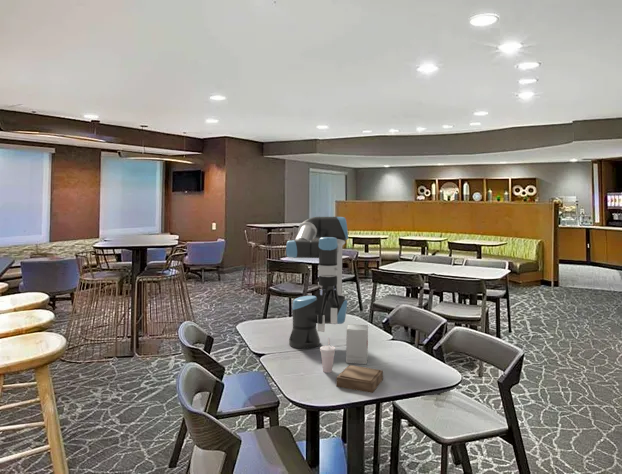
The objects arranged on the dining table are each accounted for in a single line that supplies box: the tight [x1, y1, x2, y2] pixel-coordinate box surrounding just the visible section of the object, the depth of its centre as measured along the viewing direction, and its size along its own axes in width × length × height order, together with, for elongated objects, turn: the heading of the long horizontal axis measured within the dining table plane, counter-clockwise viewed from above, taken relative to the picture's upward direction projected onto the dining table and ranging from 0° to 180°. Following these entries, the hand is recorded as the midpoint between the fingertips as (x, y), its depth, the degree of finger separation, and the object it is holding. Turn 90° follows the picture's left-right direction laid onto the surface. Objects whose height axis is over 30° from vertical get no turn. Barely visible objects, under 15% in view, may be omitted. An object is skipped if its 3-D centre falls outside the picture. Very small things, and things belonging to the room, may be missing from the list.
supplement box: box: [345, 323, 369, 365], centre depth 191 cm, size 9×9×15 cm
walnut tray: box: [335, 364, 384, 394], centre depth 167 cm, size 14×14×4 cm
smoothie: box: [319, 337, 336, 374], centre depth 178 cm, size 6×6×14 cm
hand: (327, 327), depth 177 cm, fingers open, 13 cm apart
